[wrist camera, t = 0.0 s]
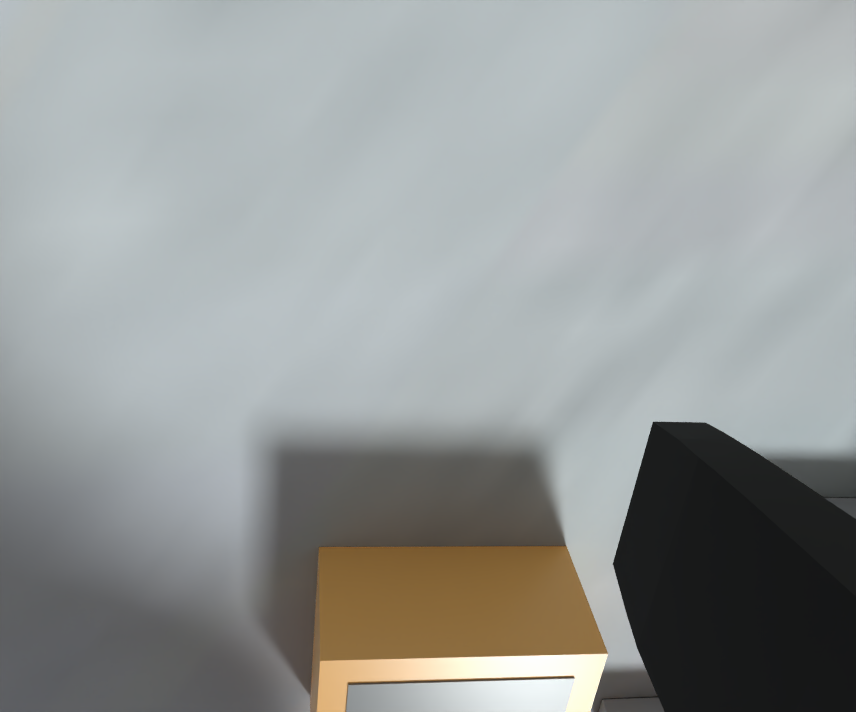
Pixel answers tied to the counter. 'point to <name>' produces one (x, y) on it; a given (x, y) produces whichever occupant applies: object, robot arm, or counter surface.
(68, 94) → the counter surface
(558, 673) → the orange square frame
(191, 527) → the counter surface
